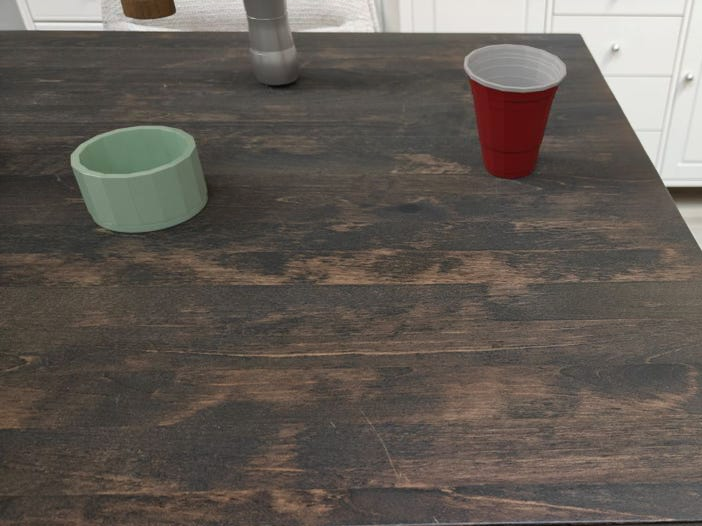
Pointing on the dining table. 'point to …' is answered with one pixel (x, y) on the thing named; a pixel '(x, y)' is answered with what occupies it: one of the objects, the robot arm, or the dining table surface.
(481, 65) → the plastic cup
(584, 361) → the dining table surface
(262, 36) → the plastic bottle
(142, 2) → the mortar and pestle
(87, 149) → the holder
